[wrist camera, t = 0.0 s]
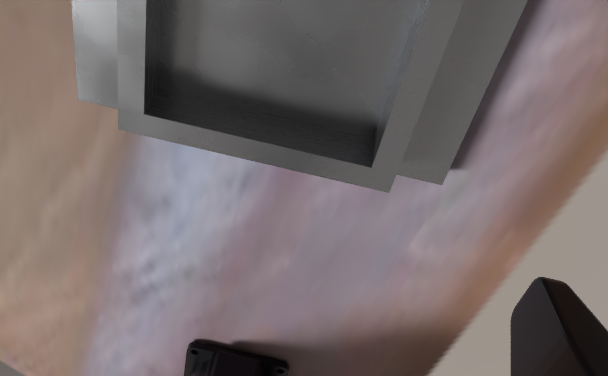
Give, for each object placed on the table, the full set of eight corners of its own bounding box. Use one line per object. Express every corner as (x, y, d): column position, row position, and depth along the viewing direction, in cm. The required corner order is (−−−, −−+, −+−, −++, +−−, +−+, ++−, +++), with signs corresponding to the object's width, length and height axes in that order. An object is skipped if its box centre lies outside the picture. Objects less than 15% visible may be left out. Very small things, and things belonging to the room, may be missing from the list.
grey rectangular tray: (440, 171, 26) (445, 215, 23) (87, 87, 25) (56, 125, 23) (572, -121, 18) (599, -98, 16) (69, -250, 18) (20, -245, 15)
